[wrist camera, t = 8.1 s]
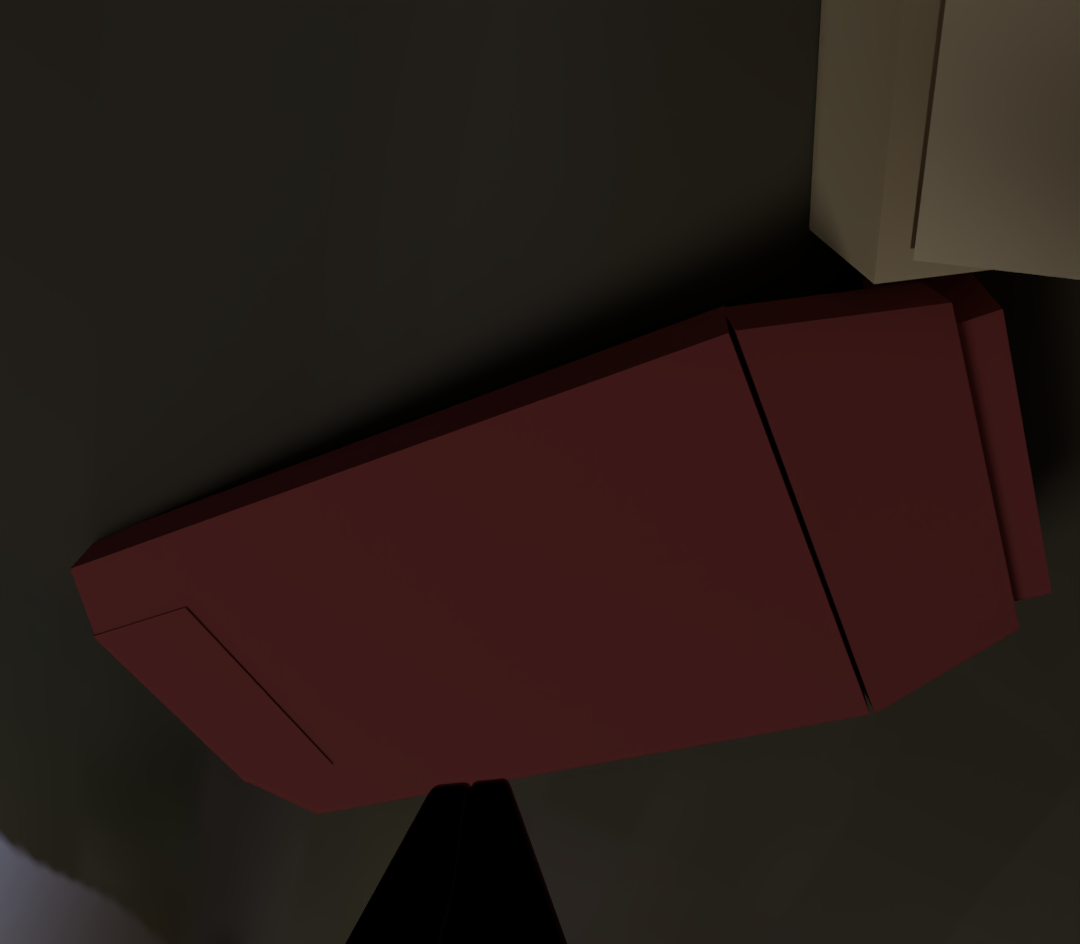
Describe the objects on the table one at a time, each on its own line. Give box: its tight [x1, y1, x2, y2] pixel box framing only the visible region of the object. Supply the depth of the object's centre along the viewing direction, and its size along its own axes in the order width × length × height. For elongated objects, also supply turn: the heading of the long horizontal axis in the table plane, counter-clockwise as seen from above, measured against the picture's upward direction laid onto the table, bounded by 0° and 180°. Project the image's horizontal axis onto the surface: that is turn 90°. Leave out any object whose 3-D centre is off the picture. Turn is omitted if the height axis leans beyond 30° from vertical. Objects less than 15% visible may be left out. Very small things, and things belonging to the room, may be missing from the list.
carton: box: [71, 272, 1052, 814], centre depth 23 cm, size 12×5×25 cm
